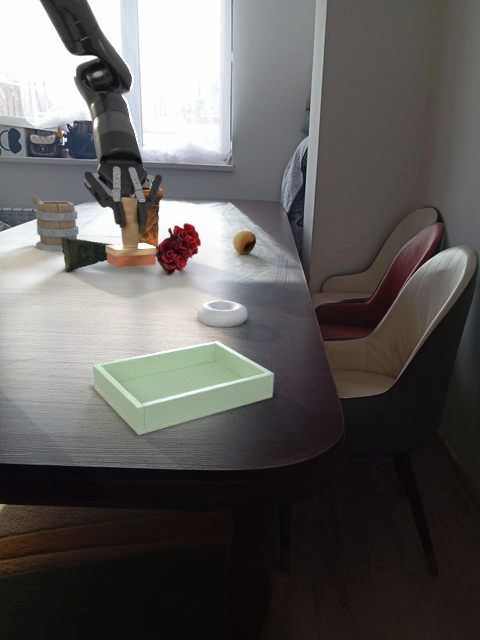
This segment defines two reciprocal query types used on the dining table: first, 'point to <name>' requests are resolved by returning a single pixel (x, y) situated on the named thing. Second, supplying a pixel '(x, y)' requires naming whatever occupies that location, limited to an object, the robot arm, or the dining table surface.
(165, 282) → the dining table surface
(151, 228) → the vessel
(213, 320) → the donut
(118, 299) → the dining table surface
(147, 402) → the tray
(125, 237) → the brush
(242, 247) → the fruit
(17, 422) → the dining table surface
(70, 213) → the tankard
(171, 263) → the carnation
